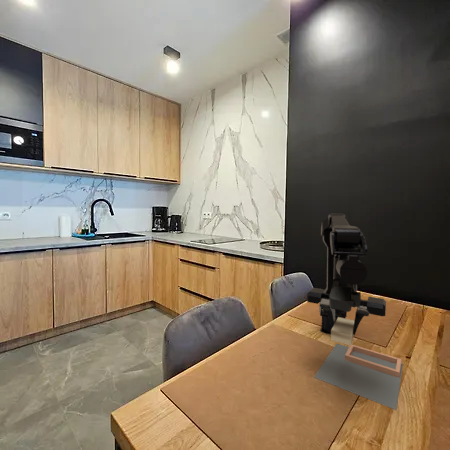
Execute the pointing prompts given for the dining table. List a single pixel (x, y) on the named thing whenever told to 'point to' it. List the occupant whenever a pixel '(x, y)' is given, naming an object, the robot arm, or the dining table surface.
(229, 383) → the dining table surface
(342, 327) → the tan oblong block
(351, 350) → the frame
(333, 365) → the mat
